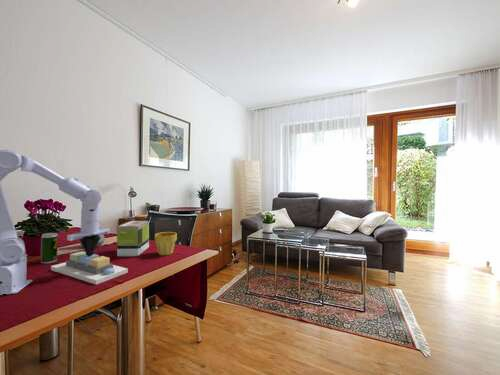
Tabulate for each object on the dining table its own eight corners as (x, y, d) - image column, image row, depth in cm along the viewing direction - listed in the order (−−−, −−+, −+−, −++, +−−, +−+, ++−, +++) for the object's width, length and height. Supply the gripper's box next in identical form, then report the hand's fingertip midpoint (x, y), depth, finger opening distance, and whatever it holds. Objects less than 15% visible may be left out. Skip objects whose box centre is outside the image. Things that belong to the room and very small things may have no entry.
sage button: (88, 260, 91) (88, 252, 91) (76, 263, 87) (76, 255, 87) (82, 258, 93) (82, 251, 93) (69, 261, 89) (70, 254, 89)
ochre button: (109, 265, 86) (109, 257, 86) (97, 269, 82) (97, 261, 82) (102, 263, 88) (102, 256, 88) (90, 267, 84) (90, 259, 84)
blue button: (98, 262, 89) (98, 255, 89) (86, 266, 85) (86, 258, 85) (91, 261, 90) (91, 253, 90) (79, 264, 86) (79, 256, 86)
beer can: (39, 264, 93) (39, 235, 93) (42, 260, 97) (42, 233, 97) (56, 262, 96) (56, 234, 96) (58, 258, 100) (58, 232, 100)
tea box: (130, 247, 121) (130, 220, 121) (149, 247, 122) (149, 220, 122) (116, 256, 106) (116, 225, 106) (138, 256, 107) (138, 225, 107)
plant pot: (158, 258, 105) (159, 237, 105) (151, 252, 113) (151, 233, 113) (179, 254, 112) (180, 234, 112) (171, 249, 120) (171, 231, 120)
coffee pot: (80, 244, 124) (80, 217, 124) (104, 242, 130) (105, 216, 130) (77, 255, 106) (78, 223, 106) (106, 251, 113) (106, 221, 113)
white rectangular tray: (127, 272, 87) (127, 263, 87) (95, 284, 76) (96, 274, 76) (83, 260, 99) (84, 253, 99) (50, 269, 88) (50, 261, 88)
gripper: (75, 224, 79) (74, 262, 79) (114, 218, 92) (114, 251, 92) (64, 222, 82) (63, 259, 82) (103, 217, 95) (103, 249, 95)
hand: (89, 255), depth 88 cm, fingers closed
